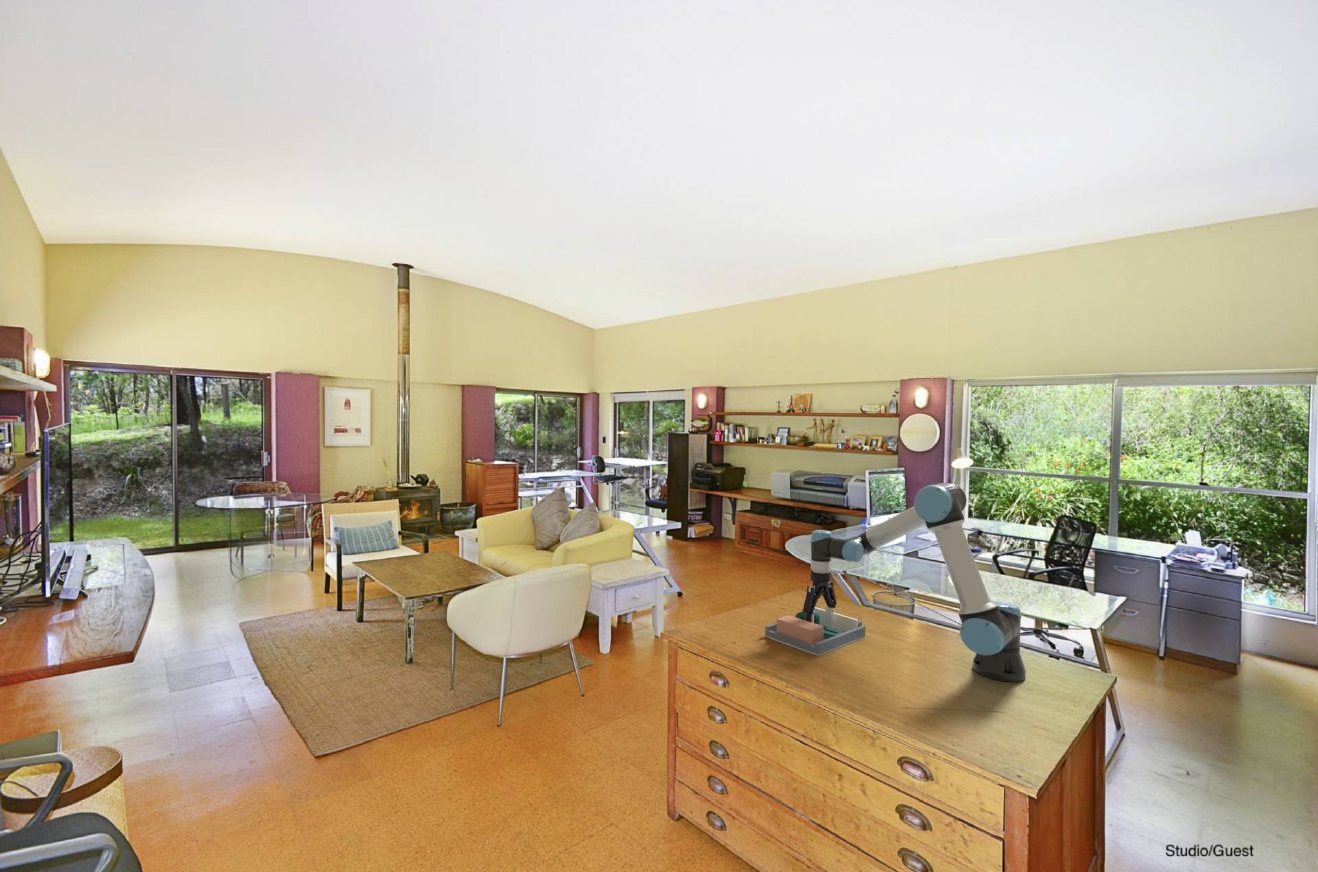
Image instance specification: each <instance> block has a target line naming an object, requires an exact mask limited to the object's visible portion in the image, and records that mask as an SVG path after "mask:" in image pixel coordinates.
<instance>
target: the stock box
mask: <svg viewBox="0 0 1318 872" xmlns="http://www.w3.org/2000/svg"><path fill="white" fill-rule="evenodd" d="M776 622H777V628H776V632H777V633H780V634H783V635H786V636H789V637H791V638H794V639H797V640H800V641H803V642H805V643H808V644H811V645H814V646H815V643H817V642H820V641H823V638H824V626H821V625H818V624H815V623H811V622H808V621H805V620H802V619H799V618H796V617H795V616H793V615H789V614H787V615H785V616H781V617H778V618H776Z"/></svg>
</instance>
